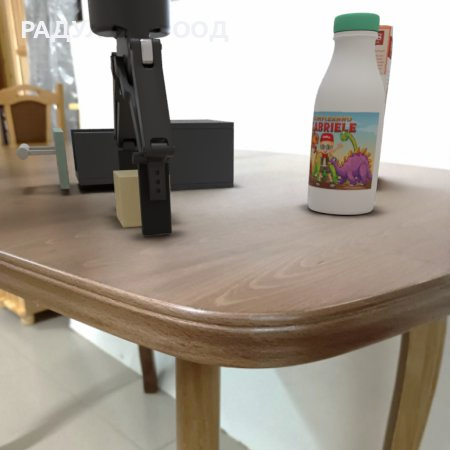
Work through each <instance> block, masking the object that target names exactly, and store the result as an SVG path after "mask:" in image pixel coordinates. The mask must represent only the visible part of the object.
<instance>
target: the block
mask: <svg viewBox="0 0 450 450" xmlns="http://www.w3.org/2000/svg"><path fill="white" fill-rule="evenodd" d="M113 176H114V184H113V187H114V188H113V189H114V198H115V199H114V200H115V210H116V211H115V212H116V218H117V219H118V221H119V223H120V224H121V226H122V228H136V227H137V228H138V227H142V224H141V210H140V195H139V181H138V170H121V171H113ZM169 180H170V175H169ZM170 202H171V203H172V199H171V194H170ZM172 223H173V221H172V218H171V224H172ZM172 225H173V224H172Z"/></svg>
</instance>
